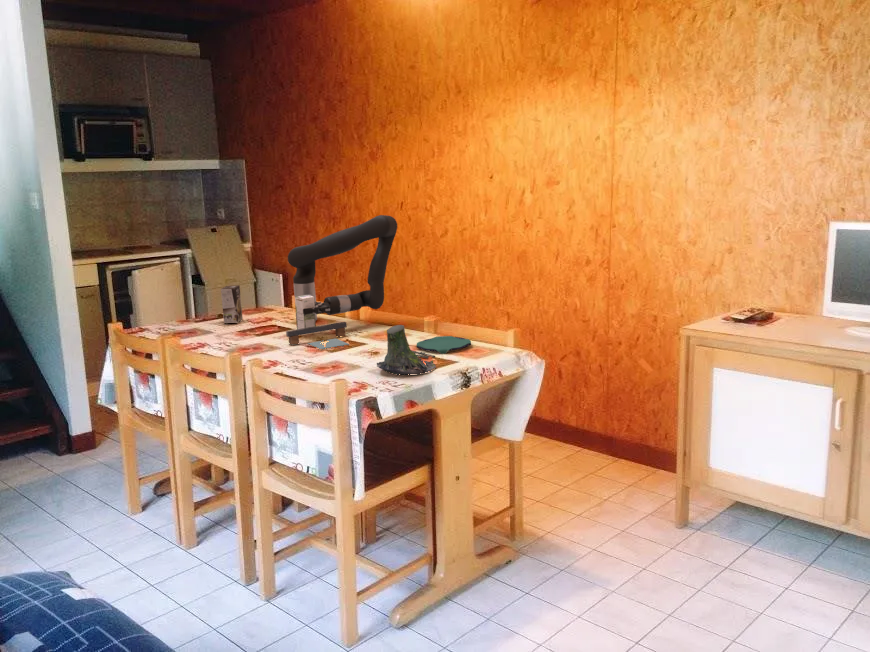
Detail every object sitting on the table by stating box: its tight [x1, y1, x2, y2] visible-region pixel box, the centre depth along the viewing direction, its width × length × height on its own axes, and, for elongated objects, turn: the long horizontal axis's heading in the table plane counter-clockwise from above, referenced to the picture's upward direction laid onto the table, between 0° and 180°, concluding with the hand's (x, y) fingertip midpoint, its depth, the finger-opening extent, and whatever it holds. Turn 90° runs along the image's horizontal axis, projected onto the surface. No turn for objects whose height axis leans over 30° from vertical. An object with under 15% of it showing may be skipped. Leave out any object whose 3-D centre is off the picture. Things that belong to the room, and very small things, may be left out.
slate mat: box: [307, 337, 350, 350], centre depth 291 cm, size 12×12×1 cm
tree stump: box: [376, 324, 437, 376], centre depth 251 cm, size 18×20×18 cm
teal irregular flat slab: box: [411, 335, 472, 360], centre depth 278 cm, size 20×30×2 cm, turn 134°
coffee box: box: [220, 285, 244, 324], centre depth 339 cm, size 9×6×16 cm
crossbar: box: [285, 321, 348, 338], centre depth 299 cm, size 2×25×2 cm, turn 122°
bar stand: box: [288, 328, 347, 345], centre depth 299 cm, size 3×23×4 cm, turn 123°
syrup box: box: [294, 295, 317, 329], centre depth 306 cm, size 6×6×14 cm
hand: (299, 310), depth 304 cm, fingers closed on syrup box, 6 cm apart
